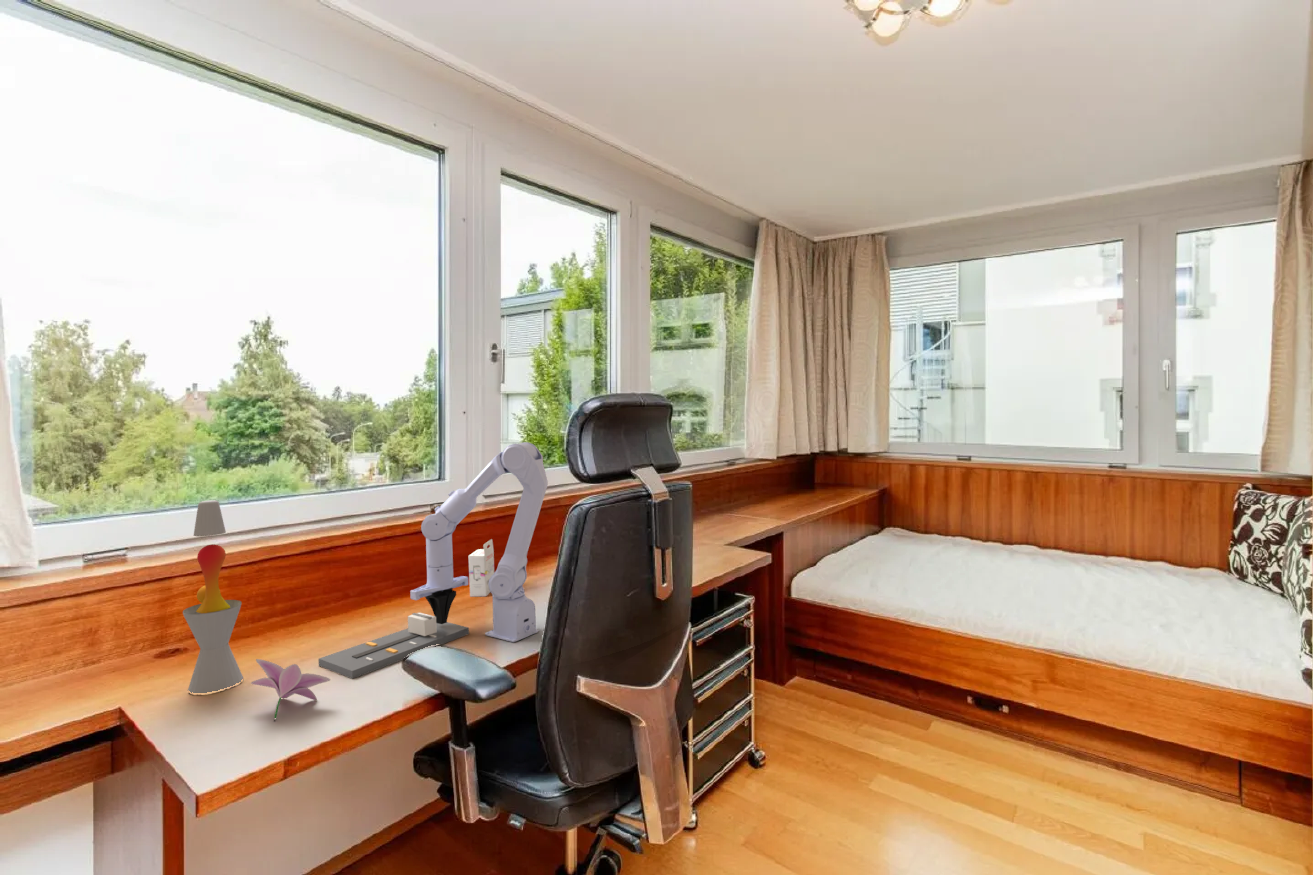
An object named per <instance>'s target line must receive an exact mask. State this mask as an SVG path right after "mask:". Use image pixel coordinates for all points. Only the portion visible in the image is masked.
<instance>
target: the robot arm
mask: <svg viewBox="0 0 1313 875" xmlns="http://www.w3.org/2000/svg"><path fill="white" fill-rule="evenodd" d="M543 458H544V456H543V455H542V453H541V452H540V450H539V449H538V447H537V446H536V445H535V444H533V443H531V442H527V441H526V442H525V441H524V442H521V443H512V444H509V445H507V446H506V447H505V448H504V449H503V450H502V451H500V452H498V454H496V455H495V456H494V457H493V458H492V459H491V460H490V462H488V463H487V464H486V466H485V467H484V468H483V469H482V470H481V471H480V473H478V474H477V476H476V477H474V479H473V480H472V481H471V482H470V483H469V484H468V485H467V486H466V488H457V489H456V490H451V491H450V492H449V493H448V496H449V497H448V498H447V499H446V500H445V501H444V502H443V503H442V504H441V505H438V506H436V507H435V508H434V512H435V513H433V514H432V513H430V514H429V515H426V516H425V518H424V519H423V521H422V522H421V528H420V531H421V532H422V535H423V536H424V538H425V545H426V546H425V551H426V554H425V557H426V558H425V559H426V584H424V585H421V586H418V587H417V588H414V589H411V590H410V591H409V592H410V594H409V595H410V599H411V600H414V601H419V600H420V599H421V598H425V599H426V601H427V603H428V604H429V606H430V608H431V610H432V612H433V616H435V617H436V623H439V624H444V623H447V622H448V617H449V615H450V614H449V613H450V610H451V607H452V604H453V602H454V600H455V598H456V596H457V590H453V589H456V588H459V587H463V586H464V587H465V586H468V585H469V576H466V575H465V576H464V575H460V576H457V577H454V559H453V557H454V556H453V555H454V554H453V551H454V550H453V533H454V532H455V531H456V527H457V525H459V523H460V522H461V521H463V520H464V519H465V518H466V517H467V515H468V514H470V513H471V511H473V510H474V509H475V507H476V506H477V498H479V496H480V495H481V494H482V493H484V492H485V490H487V489H488V488H489V487H490V486H491V485H492V484H493V483H494V482H495V481H496V480H498V478H500V477H501V476H502V475H504V474H508V473H511V474H512V475H513V476H515V477H516V479H517V480H518V482H519V483H520V485H521V486H522V488H523V489H522V493H521V497H520V500H519V503H518V507H517V509H516V513H515V517H514V520H513V523H512V526H511V529H510V534H509V536H508V540H507V543H506V546H505V550H504V553H503V555H502V557H501V559H500V560H499V562H498V564H497V568H496V570H494V574H493V575H492V576H491V577H490V579H489V590H490V593H491V595H492V624H493V625H492V626H493V629H491V630H489V631H486V632H485V634H484V635H485V636H487V637H491V638H495V639H500V640H503V641H507V642H511V643H516V642H518V641H520V640H523V639H525V638H527V637H529V636H533V635H534V634H537V633H539V629H537V627H536V626H537V622H536V620H537V618H536V605H535V602H534V600H532V599H530V598H528V597H527V596H526V594H525V588H524V586H523V585H524V584H525V582H526V581H527V578H528V573H527V564H528V558H527V556H528V551H529V549H530V548H529V547H530V546H531V542H532V538H533V536H534V533H535V532H534V531H535V529H536V526H537V522H538V519H539V515H540V512H541V508H542V505H543V502H544V499H545V496H546V493H547V492H546V491H547V489H548V482H549V481H548V477H547V474H546V469H545V466H544V461H543V460H544V459H543Z"/></svg>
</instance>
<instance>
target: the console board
mask: <svg viewBox="0 0 1313 875" xmlns="http://www.w3.org/2000/svg"><path fill="white" fill-rule="evenodd" d="M436 630H437V632H436V633H433V634H430V635H427V636H422V635H419V634H415V633H412V632H408V627H407V628H404V629H402V630H399V631H395V632H393V633H389V634H388V635H387V634H386V635H384V636H381V637H378V638H376V639H372V640H369V641H366V642H364V643H360V644H357V645H354V646H352V647H349V648H346V649H343V650H340V651H336V652H334V653H331V654H328V655H324V656H322V657H319V658H318V667H320V666H321V668H324V669H326V670H329V671H330V672H334V673H336V674H340V675H341V676H344V677H347V678H349V679H352V680H353V679H355V678H358V677H360V676H363V675H366V674H369V673H371V672H373V671H376V670H379V669H382V668H385V667H386V666H389V665H392V664H394V663H397V662H399V661H402V660H405V659H404V657H406V656H407V655H408V654H410V653H412V652H415V651H417V650H420V649H423V648H425V647H428V646H431V645H436V644H442V645H443V644H446V643H448V642H451V641H454V640H457V639H459V638H462V637H464V636H467V635H470V628H469V627H468V626H464V625H461V624H460V625H459V624H456V623H452V622H448V621H447V623H444V624H439V623H436Z"/></svg>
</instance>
